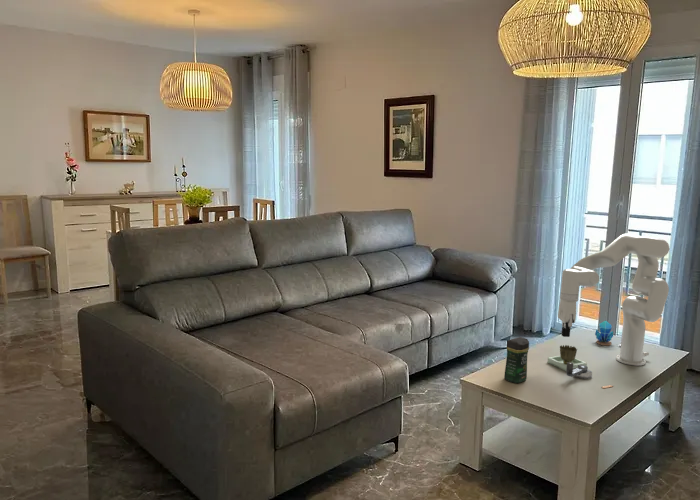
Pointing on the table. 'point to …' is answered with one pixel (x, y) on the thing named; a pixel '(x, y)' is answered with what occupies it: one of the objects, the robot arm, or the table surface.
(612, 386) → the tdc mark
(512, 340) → the coffee jar
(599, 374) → the table surface
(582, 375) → the crank base
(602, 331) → the gemstone
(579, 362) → the tray
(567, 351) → the ornate brass lampshade
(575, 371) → the crank
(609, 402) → the table surface
